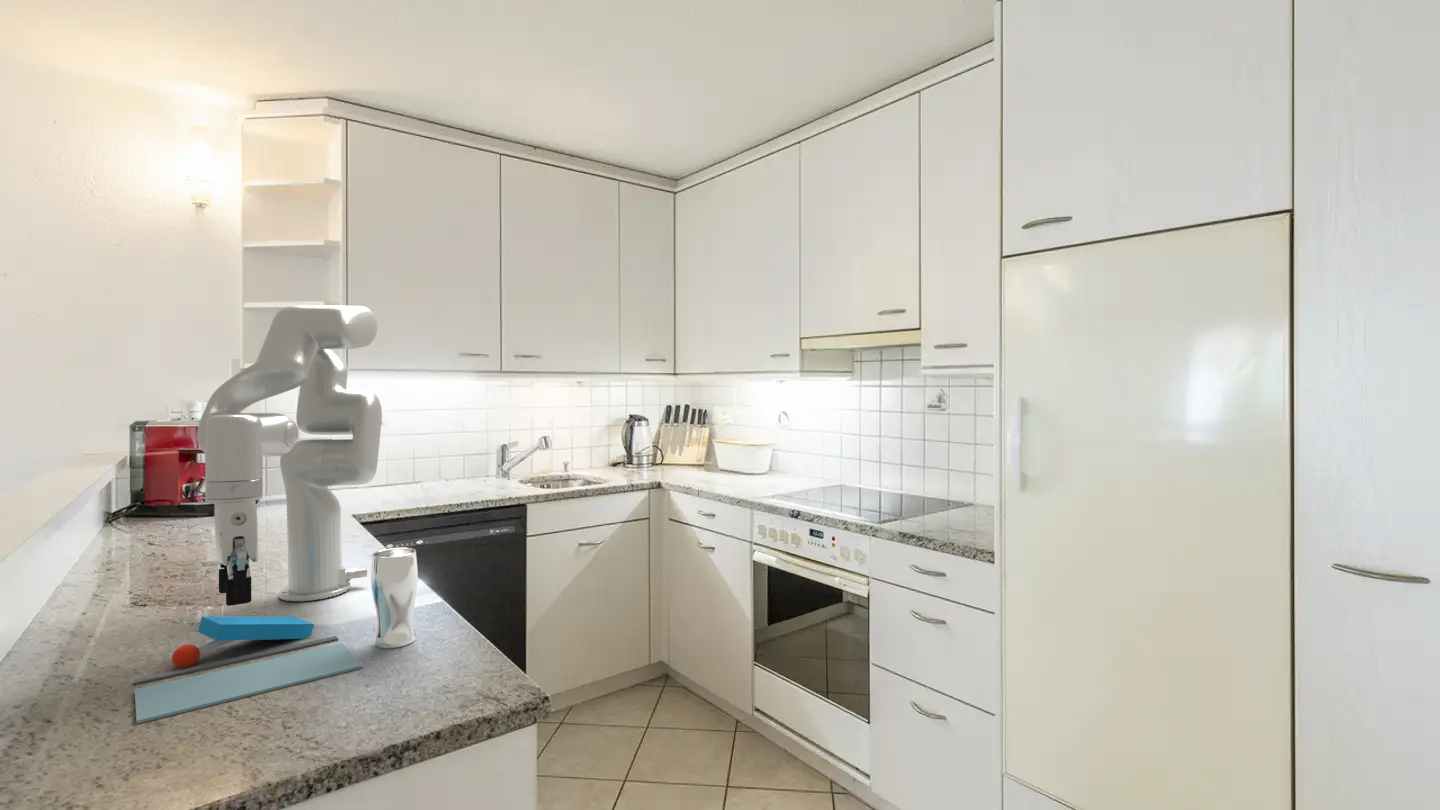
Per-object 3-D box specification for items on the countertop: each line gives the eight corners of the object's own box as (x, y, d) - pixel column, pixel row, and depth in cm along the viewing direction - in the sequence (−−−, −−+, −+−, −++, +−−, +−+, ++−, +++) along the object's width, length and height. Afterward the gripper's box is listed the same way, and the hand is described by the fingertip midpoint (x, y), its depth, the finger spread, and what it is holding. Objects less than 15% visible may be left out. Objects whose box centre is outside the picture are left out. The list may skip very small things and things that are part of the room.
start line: (335, 637, 116) (335, 635, 116) (338, 640, 115) (338, 638, 115) (133, 681, 99) (133, 679, 99) (134, 684, 98) (134, 682, 98)
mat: (342, 645, 113) (342, 643, 113) (362, 667, 104) (362, 665, 104) (134, 692, 95) (134, 689, 95) (136, 723, 86) (136, 720, 86)
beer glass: (427, 638, 116) (426, 549, 116) (392, 652, 110) (391, 559, 109) (398, 632, 119) (397, 545, 118) (362, 645, 113) (361, 554, 112)
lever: (283, 658, 120) (160, 663, 105) (294, 616, 121) (174, 616, 107) (303, 666, 116) (178, 673, 101) (314, 624, 117) (193, 624, 103)
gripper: (271, 493, 107) (271, 604, 106) (254, 485, 120) (254, 583, 119) (211, 498, 102) (211, 614, 102) (200, 488, 115) (200, 591, 114)
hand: (234, 597), depth 110 cm, fingers open, 9 cm apart
